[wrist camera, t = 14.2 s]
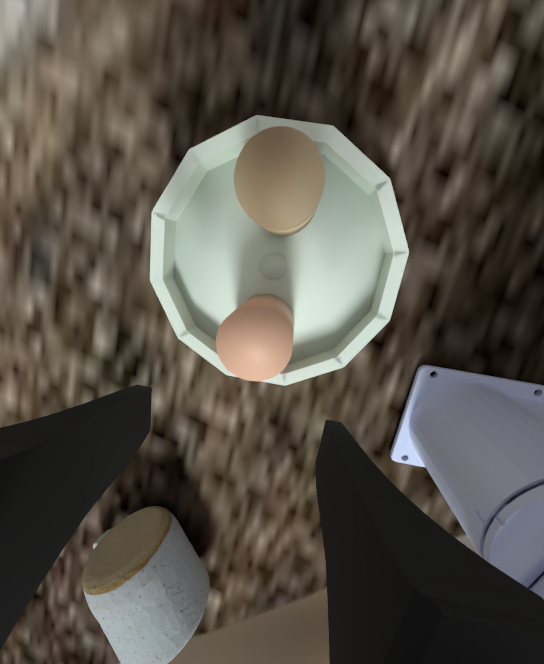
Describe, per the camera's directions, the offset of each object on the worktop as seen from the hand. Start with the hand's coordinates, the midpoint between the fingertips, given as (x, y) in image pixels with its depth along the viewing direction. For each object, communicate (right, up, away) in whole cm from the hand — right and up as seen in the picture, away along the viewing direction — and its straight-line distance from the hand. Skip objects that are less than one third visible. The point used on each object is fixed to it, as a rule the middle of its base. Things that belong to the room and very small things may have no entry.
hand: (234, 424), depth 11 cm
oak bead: (+2, +12, +6) cm, 13 cm away
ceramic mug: (-9, -16, +15) cm, 24 cm away
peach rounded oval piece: (+1, +4, +8) cm, 9 cm away
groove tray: (+2, +8, +7) cm, 11 cm away
